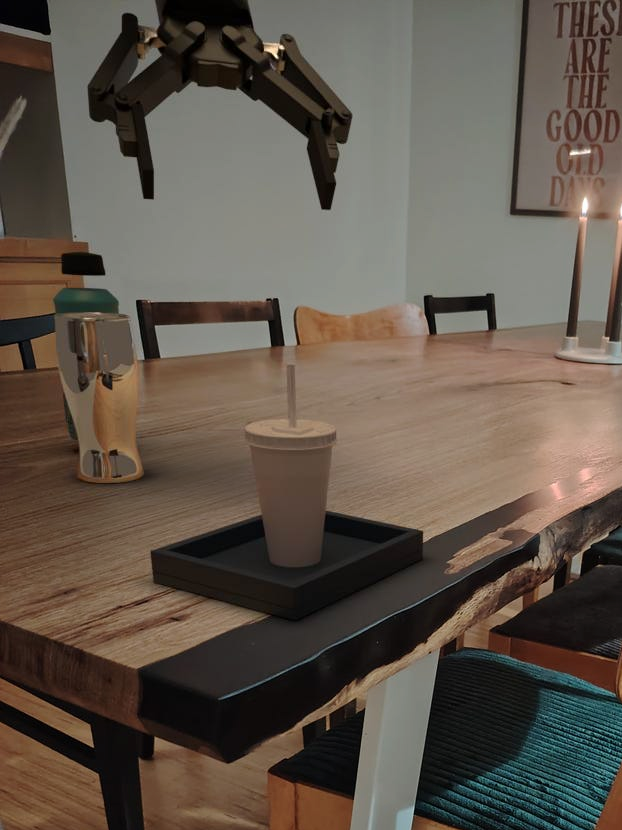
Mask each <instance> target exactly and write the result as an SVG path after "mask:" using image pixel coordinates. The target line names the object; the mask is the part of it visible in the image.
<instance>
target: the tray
mask: <svg viewBox="0 0 622 830" xmlns="http://www.w3.org/2000/svg"><path fill="white" fill-rule="evenodd" d="M423 549H424V530H421V529H416V528H412V527H407V526H402V525H396V524H392V523H388V522H383V521H378V520H374V519H370V518H364V517H358V516H354V515H350V514H345V513H340V512H335V511H330V510H326V512H325V522H324V531H323V541H322V550H321V559H320V561H319V562H318V563H316V564H314V565H311V566H306V567H283V566H278V565H275V564H273V563H271V562H270V559H269V553H268V547H267V542H266V536H265V530H264V524H263V519H262V513H261V514H259V515H256V516H252V517H250V518H247V519H243V520H240V521H237V522H234V523H231V524H228V525H225V526H222V527H219V528H216V529H212V530H209V531H206V532H204V533H201V534H198V535H193V536H192V537H189V538H185V539H183V540H180V541H175V542H173V543H170V544H167V545H164V546H161V547H158V548H155V549H151V550H150V562H151V571H152V572H151V573H152V581H153V583H157V584H159V585H164V586H168V587H171V588H175V589H179V590H182V591H186V592H190V593H192V594H196V595H201V596H204V597H207V598H211V599H215V600H217V601H218V600H219V601H222V602H225V603H229V604H232V605H236V606H239V607H243V608H248V609H251V610H254V611H258V612H262V613H265V614H268V615H273V616H275V617H280V618H282V619H287V620H290V621H295V622H297V621H298V620H301V619H302V618H305V617H307V616H309V615H311V614H313V613H314V612H317V611H319V610H321V609H323V608H325V607H327V606H329V605H331V604H333V603H335V602H337V601H339V600H342V599H344V598H345V597H348V596H349V595H352V594H354V593H355V592H358V591H360V590H362V589H364V588H366V587H368V586H371V585H372V584H375V583H376V582H378V581H380V580H382V579H385V578H386V577H388V576H390V575H392V574H395V573H397V572H399V571H401V570H403V569H405V568H406V567H409V566H411V565H413V564H414V563H417V562H420V561H421V560H423V558H424V557H423V556H424V554H423V553H424V550H423Z"/></svg>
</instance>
